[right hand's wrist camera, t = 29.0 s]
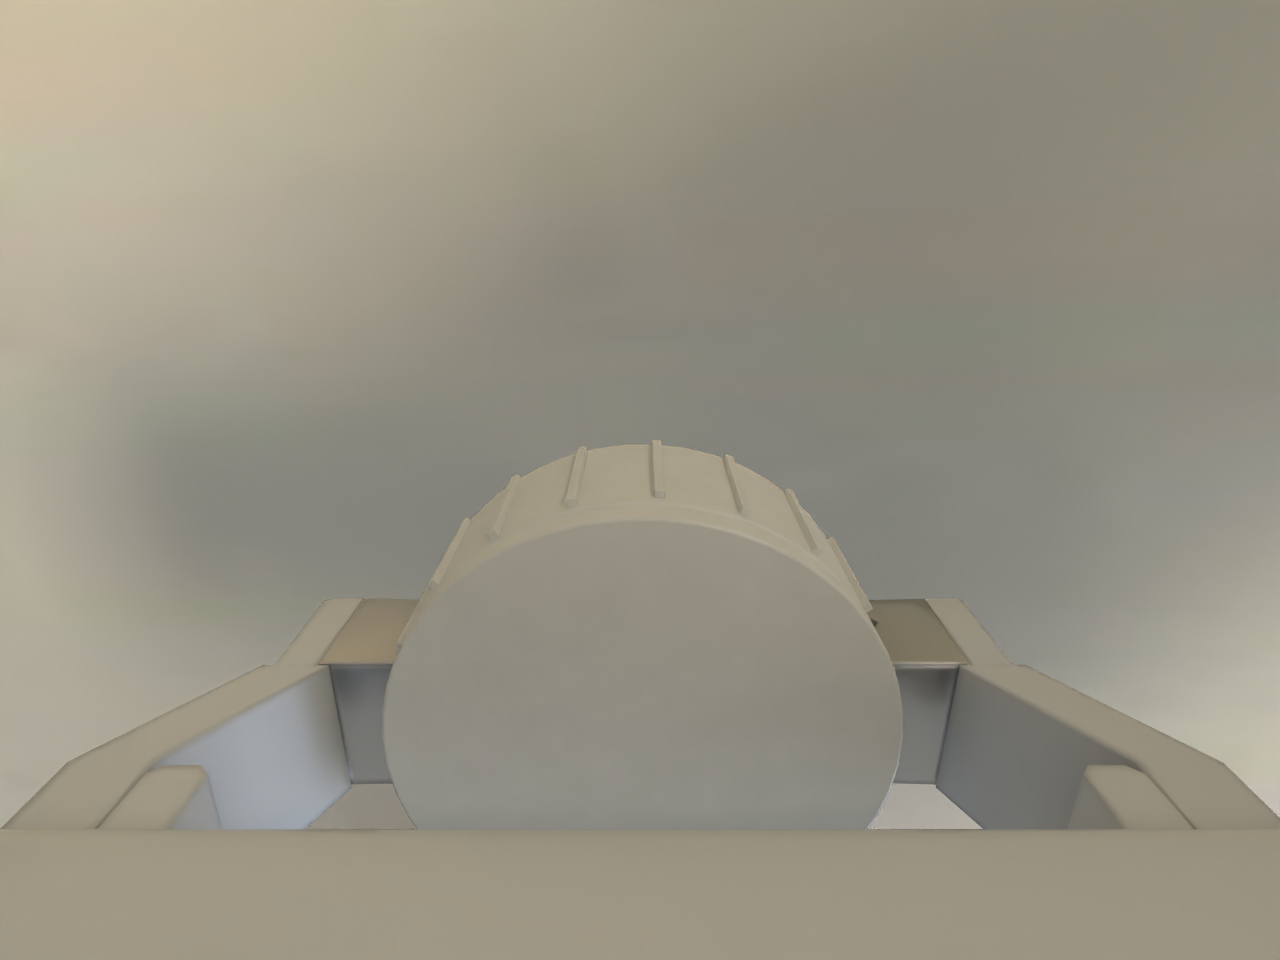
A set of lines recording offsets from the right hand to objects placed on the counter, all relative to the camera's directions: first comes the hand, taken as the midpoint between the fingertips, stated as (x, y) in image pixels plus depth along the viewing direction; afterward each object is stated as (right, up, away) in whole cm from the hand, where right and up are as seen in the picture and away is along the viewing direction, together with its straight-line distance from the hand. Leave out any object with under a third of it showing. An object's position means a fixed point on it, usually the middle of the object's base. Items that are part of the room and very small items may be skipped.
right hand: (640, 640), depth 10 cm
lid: (0, -1, -2) cm, 2 cm away
